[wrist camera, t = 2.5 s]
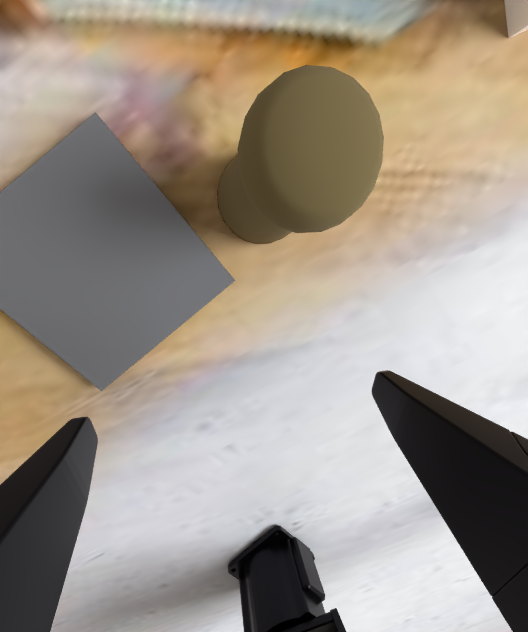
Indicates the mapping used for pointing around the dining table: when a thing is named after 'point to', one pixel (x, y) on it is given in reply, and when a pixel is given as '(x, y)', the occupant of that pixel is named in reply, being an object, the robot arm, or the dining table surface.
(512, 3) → the white slotted block
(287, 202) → the cork
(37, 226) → the charcoal mat
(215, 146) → the dining table surface
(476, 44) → the dining table surface
